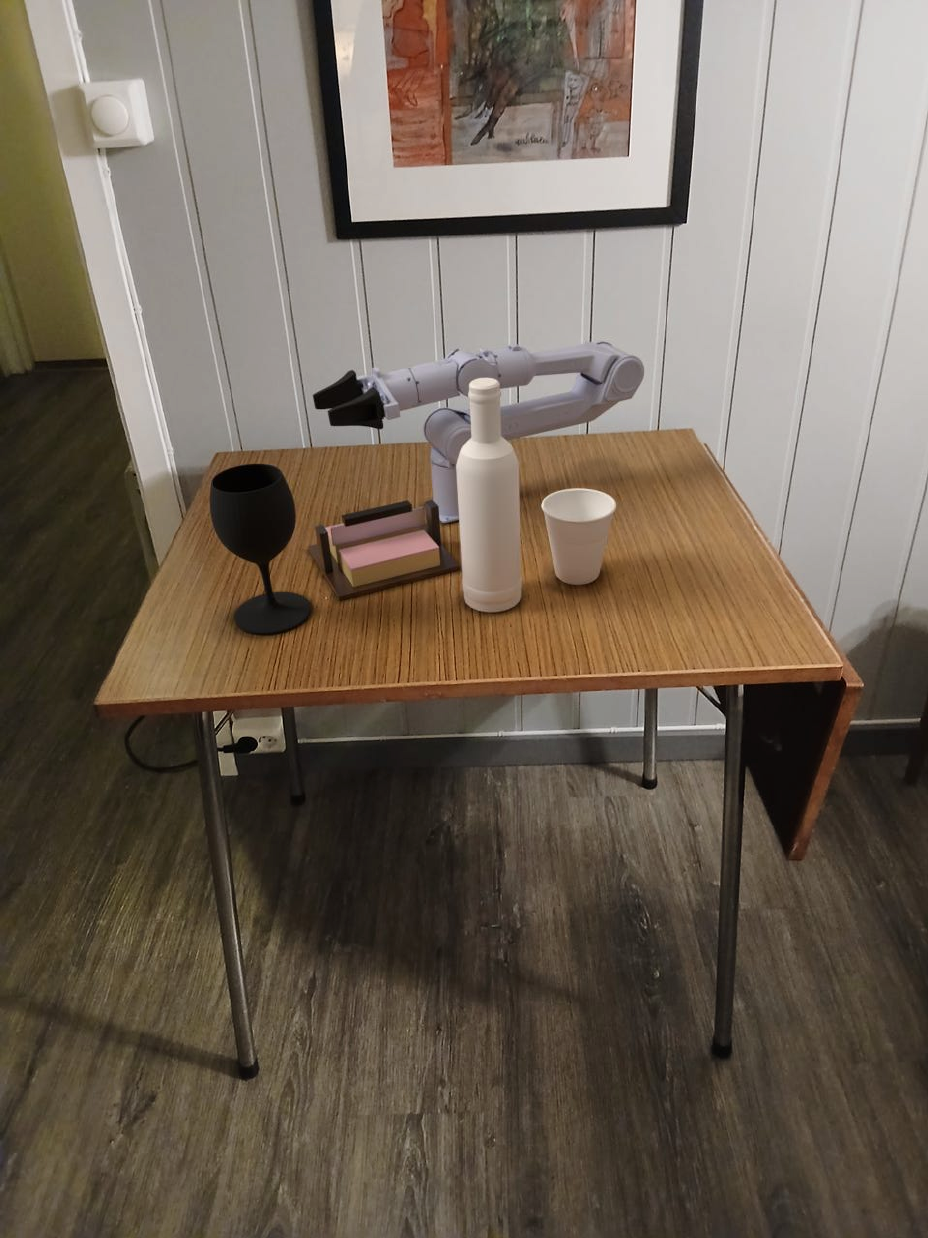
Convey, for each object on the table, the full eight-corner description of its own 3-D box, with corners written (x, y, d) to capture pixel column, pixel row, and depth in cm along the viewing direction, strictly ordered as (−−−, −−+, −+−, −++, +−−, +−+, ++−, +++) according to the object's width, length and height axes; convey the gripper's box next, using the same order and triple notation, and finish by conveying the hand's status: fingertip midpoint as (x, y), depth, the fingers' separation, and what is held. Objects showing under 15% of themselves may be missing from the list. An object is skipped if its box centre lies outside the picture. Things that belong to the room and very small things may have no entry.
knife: (422, 521, 137) (420, 496, 134) (426, 525, 135) (424, 501, 133) (331, 543, 132) (327, 518, 130) (334, 548, 131) (330, 522, 129)
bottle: (527, 609, 123) (524, 389, 107) (469, 617, 122) (456, 396, 106) (514, 579, 130) (509, 368, 113) (459, 586, 129) (446, 374, 112)
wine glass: (276, 643, 119) (248, 502, 108) (217, 623, 124) (185, 486, 113) (327, 605, 126) (306, 469, 115) (270, 586, 131) (244, 455, 120)
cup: (566, 601, 124) (567, 528, 118) (528, 569, 132) (527, 499, 126) (627, 580, 128) (631, 508, 122) (586, 551, 135) (588, 481, 129)
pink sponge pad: (407, 526, 143) (405, 508, 141) (440, 565, 132) (439, 547, 131) (326, 545, 139) (323, 527, 137) (353, 587, 128) (350, 568, 127)
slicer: (420, 524, 145) (416, 481, 141) (460, 569, 133) (457, 525, 129) (308, 550, 140) (301, 507, 136) (339, 601, 127) (332, 555, 123)
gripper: (390, 348, 139) (302, 368, 135) (425, 374, 127) (331, 398, 124) (396, 393, 143) (312, 414, 139) (431, 423, 131) (340, 447, 128)
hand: (321, 410), depth 132 cm, fingers open, 7 cm apart
